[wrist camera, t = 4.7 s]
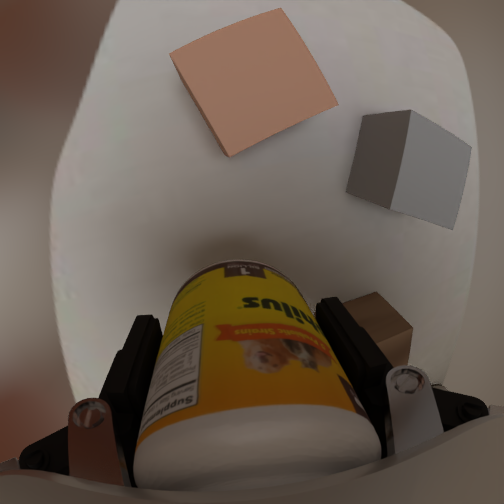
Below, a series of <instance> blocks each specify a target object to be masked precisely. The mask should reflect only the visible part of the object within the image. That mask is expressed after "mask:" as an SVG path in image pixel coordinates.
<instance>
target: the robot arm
mask: <svg viewBox="0 0 504 504" xmlns="http://www.w3.org/2000/svg"><path fill="white" fill-rule="evenodd" d="M315 319H316V321H317V323H318V325H319V327H320V328H321V330H322V332H323V334H324V335H325V337H326V339H327V341H328V343H329V345H330V346H331V348H332V350H333V352H334V354H335V356H336V358H337V359H338V361H339V363H340V365H341V367H342V369H343V370H344V372H345V374H346V376H347V378H348V380H349V381H350V383H351V385H352V387H353V389H354V391H355V392H356V394H357V396H358V398H359V400H360V402H361V404H362V406H363V408H364V410H365V411H366V413H367V415H368V417H369V419H370V421H371V423H372V425H373V427H374V429H375V431H376V433H377V435H378V438H379V441H380V444H381V460H378V461H375V462H372V463H369V464H366V465H363V466H360V467H357V468H354V469H350V470H347V471H343V472H340V473H336V474H332V475H328V476H324V477H320V478H316V479H311V480H306V481H301V482H296V483H291V484H285V485H278V486H271V487H264V488H255V489H245V490H232V491H206V492H188V491H164V490H151V489H141V488H138V487H137V485H136V483H135V479H134V472H133V465H134V456H135V450H136V446H137V440H138V435H139V431H140V426H141V421H142V417H143V412H144V408H145V404H146V400H147V395H148V391H149V387H150V383H151V379H152V375H153V371H154V367H155V363H156V359H157V356H158V352H159V348H160V345H161V341H162V337H163V335H162V331H161V327H160V323H159V320H158V318H154V317H153V315H138V316H137V317H136V319H135V321H134V323H133V325H132V328H131V330H130V332H129V335H128V337H127V339H126V342H125V344H124V346H123V349H122V350H119V351H118V352H117V354H116V356H115V358H114V361H113V363H112V365H111V368H110V370H109V373H108V375H107V378H106V380H105V383H104V385H103V388H102V390H101V393H100V395H99V398H87V399H84V400H81V401H79V402H78V403H76V404H75V405H74V406H73V407H72V408H71V410H70V412H69V417H68V426H66V427H64V428H62V429H60V430H58V431H57V432H55V433H53V434H51V435H49V436H47V437H45V438H43V439H41V440H39V441H37V442H35V443H33V444H31V445H29V446H27V447H26V448H25V449H24V450H23V451H22V453H21V455H20V457H19V460H17V459H16V458H12V459H10V460H8V461H5V462H2V463H0V504H504V407H502V406H495V405H490V406H489V408H487V406H486V405H485V403H484V402H483V401H481V400H480V399H478V398H475V397H472V396H467V395H463V394H458V393H454V392H449V391H448V390H447V389H446V388H445V387H444V386H441V385H439V386H432V387H431V384H430V381H429V378H428V377H427V375H426V374H425V373H424V372H423V371H422V370H420V369H419V368H417V367H413V366H407V365H403V366H397V367H395V368H394V367H393V366H392V364H391V363H390V362H389V360H388V359H387V358H386V356H385V355H384V354H383V352H382V351H381V350H380V348H379V347H378V346H377V344H376V343H375V342H374V340H373V339H372V338H371V337H370V335H369V334H368V333H367V331H366V330H365V329H364V328H363V327H360V326H359V325H358V323H357V322H356V321H355V319H354V318H353V317H352V316H351V314H350V313H349V312H348V310H347V309H346V308H345V306H344V305H343V304H342V303H341V301H340V300H339V299H338V298H337V297H331V298H324V299H322V300H321V303H317V305H316V318H315Z"/></svg>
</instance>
